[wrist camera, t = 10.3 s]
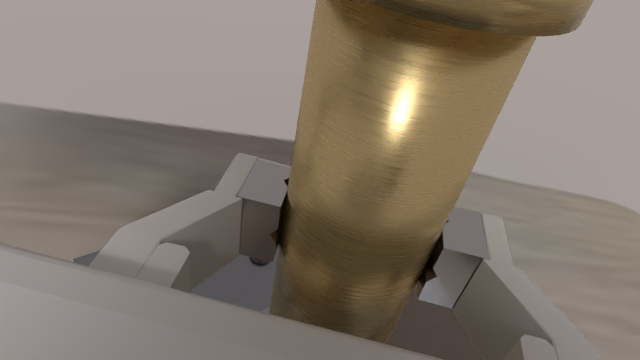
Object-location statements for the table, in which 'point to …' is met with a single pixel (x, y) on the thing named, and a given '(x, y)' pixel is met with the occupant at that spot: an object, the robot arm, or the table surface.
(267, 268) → the hinge body
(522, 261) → the table surface
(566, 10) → the pin
